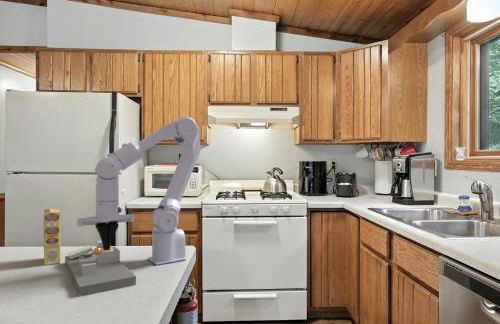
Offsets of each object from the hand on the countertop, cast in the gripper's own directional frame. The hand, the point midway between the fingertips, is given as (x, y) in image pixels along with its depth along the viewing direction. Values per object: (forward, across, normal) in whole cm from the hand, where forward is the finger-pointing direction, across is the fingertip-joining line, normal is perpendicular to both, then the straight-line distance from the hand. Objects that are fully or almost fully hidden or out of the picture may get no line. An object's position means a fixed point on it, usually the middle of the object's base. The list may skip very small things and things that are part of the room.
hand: (106, 249), depth 89 cm
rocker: (+2, +6, -8) cm, 10 cm away
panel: (+5, +3, +3) cm, 7 cm away
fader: (+3, 0, -8) cm, 8 cm away
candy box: (+5, +12, -17) cm, 21 cm away
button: (+3, 0, 0) cm, 3 cm away
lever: (+2, +6, +8) cm, 10 cm away
